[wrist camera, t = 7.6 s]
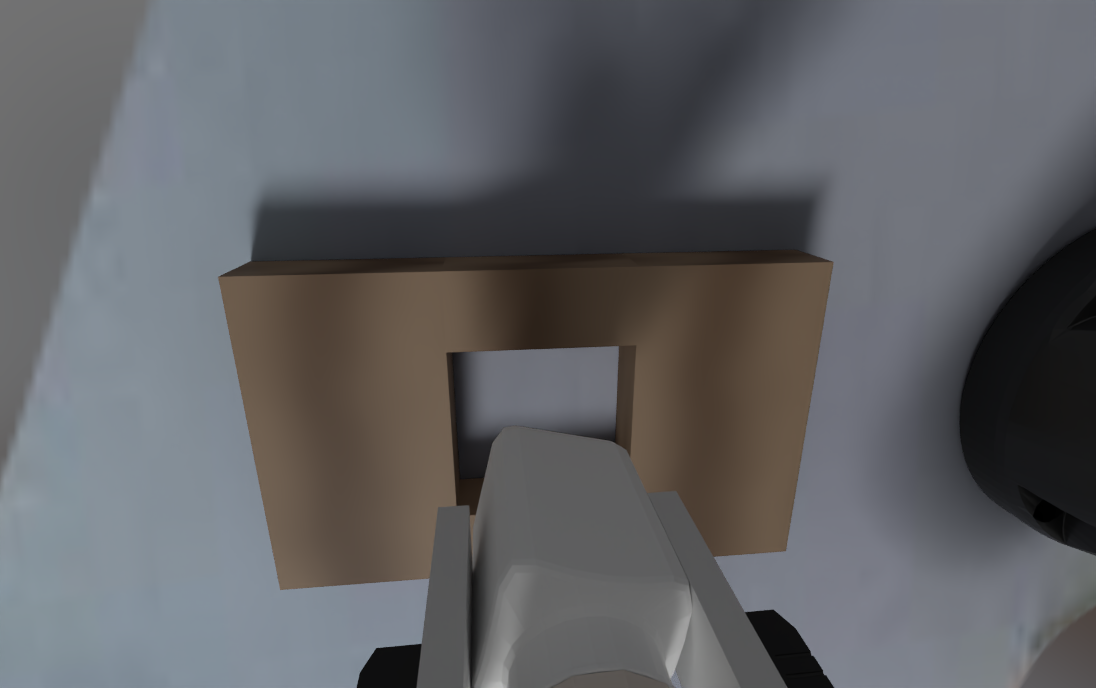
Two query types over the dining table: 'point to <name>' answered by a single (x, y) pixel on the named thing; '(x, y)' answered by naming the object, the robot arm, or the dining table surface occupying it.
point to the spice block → (516, 324)
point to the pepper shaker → (572, 570)
